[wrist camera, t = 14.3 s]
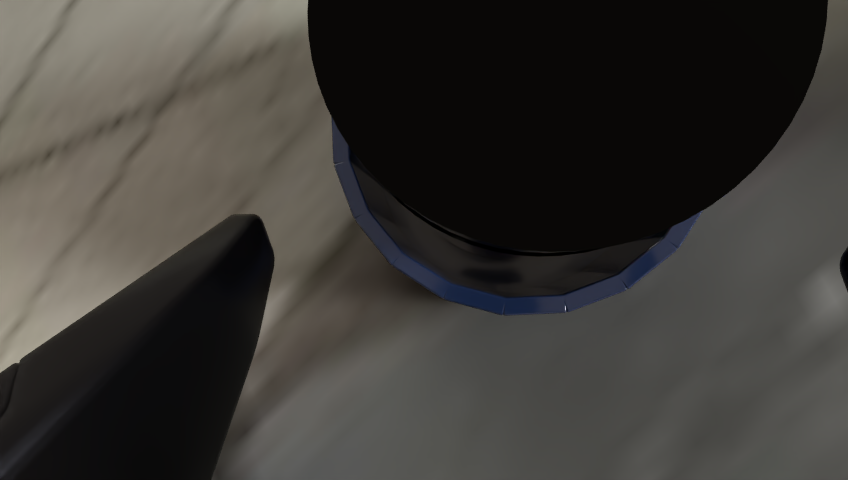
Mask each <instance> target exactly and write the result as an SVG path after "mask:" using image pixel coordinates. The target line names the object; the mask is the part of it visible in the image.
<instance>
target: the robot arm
mask: <svg viewBox="0 0 848 480" xmlns="http://www.w3.org/2000/svg"><path fill="white" fill-rule="evenodd" d="M273 268H274V252H273V249H272V246H271V243H270V241H269V238H268V235H267V232H266V229H265V227H264V224H263V222H262V219H261V218H260V217H259V216H257V215H255V214H235V215H231V216H230V217H228V218H227V219H225V220H224V221H222V222H221V223H219V224H218V225H216V226H215V227H213V228H212V229H210V230H209V231H208V232H206V233H205V234H203V235H202V236H200V237H199V238H197V239H196V240H194V241H193V242H191V243H190V244H188V245H187V246H186V247H184V248H183V249H181V250H180V251H178V252H177V253H175V254H174V255H172V256H171V257H169V258H168V259H167V260H165V261H164V262H162V263H161V264H159V265H158V266H156V267H155V268H153V269H152V270H150V271H149V272H147V273H146V274H145V275H143V276H142V277H140V278H139V279H137V280H136V281H134V282H133V283H131V284H130V285H128V286H127V287H126V288H124V289H123V290H121V291H120V292H118V293H117V294H115V295H114V296H112V297H111V298H109V299H108V300H106V301H105V302H104V303H102V304H101V305H99V306H98V307H96V308H95V309H93V310H92V311H90V312H89V313H87V314H86V315H85V316H83V317H82V318H80V319H79V320H77V321H76V322H74V323H73V324H71V325H70V326H68V327H67V328H65V329H64V330H63V331H61V332H60V333H58V334H57V335H55V336H54V337H52V338H51V339H49V340H48V341H46V342H45V343H43V344H42V345H41V346H39V347H38V348H36V349H35V350H33V351H32V352H30V353H29V354H27V355H26V356H24V357H23V358H22V359H21V360H20V363H14V364H12V365H11V366H10V367H8V368H7V369H5V370H4V371H2V372H1V373H0V480H211V479H212V476H213V473H214V470H215V467H216V464H217V461H218V458H219V456H220V453H221V450H222V447H223V444H224V441H225V438H226V435H227V432H228V429H229V426H230V423H231V420H232V418H233V415H234V412H235V409H236V406H237V403H238V400H239V397H240V394H241V391H242V388H243V385H244V382H245V380H246V377H247V374H248V371H249V368H250V365H251V362H252V359H253V356H254V352H255V349H256V346H257V342H258V338H259V334H260V329H261V324H262V320H263V315H264V310H265V306H266V301H267V296H268V292H269V287H270V282H271V278H272V273H273ZM840 272H841V275H842V278H843V281H844V283H845V286H846V289H847V291H848V247H847V249H846V250H845V252H844V253H843V255H842V257H841V260H840Z"/></svg>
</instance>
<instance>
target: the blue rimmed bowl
mask: <svg viewBox="0 0 848 480" xmlns="http://www.w3.org/2000/svg"><path fill="white" fill-rule="evenodd" d="M331 118H332V116H331ZM332 140H333V161H334V164H335V165H334V167H335V170H336V172H337V175H338V178H339V180H340V183H341V186H342V188H343V191H344V193H345V196H346V199H347V201H348V204H349V207H350V209H351V212H352V215H353V217H354V219H355V221H356V222H357V224H358V225H359V226H360V227H361V229H362V230H363V231H364V232H365V233H366V235H367V236H368V237H369V238H370V240H371V241H372V242H373V243H374V245H375V246H376V247H377V248H378V250H379V251H380V252H381V253H382V255H383V256H384V257H385V258H386V260H387V261H388V262H389V263H390V264H391V265H393V267H394V268H395V269H397V270H398V271H400V272H402V273H403V274H405V275H406V276H408V277H409V278H411V279H412V280H414V281H415V282H417V283H418V284H420V285H421V286H423V287H425V288H426V289H428V290H429V291H431V292H432V293H434V294H435V295H437V296H438V297H440V298H443V299H444V300H447V301H451V302H454V303H458V304H462V305H465V306H469V307H473V308H476V309H480V310H484V311H487V312H491V313H495V314H499V315H505V316H508V315H529V314H551V313H565V312H570V311H573V310H575V309H578V308H581V307H583V306H586V305H589V304H591V303H594V302H597V301H599V300H602V299H605V298H607V297H610V296H613V295H615V294H618V293H621V292H623V291H625V290H626V289H629V288H630V287H632V286H633V285H634V284H635V283H637V282H638V281H639V280H640V279H642V278H643V277H644V276H645V275H647V274H648V273H649V272H650V271H652V270H653V269H654V268H655V267H657V266H658V265H659V264H660V263H662V262H663V261H664V260H665V259H667V258H668V257H669V256H670V255H672V254H673V253H674V252H675V251H676V250H677V249H678V248H679V247H680V245H681V244H682V242H683V241H684V239H685V238H686V236H687V235H688V233H689V231H690V230H691V228H692V227H693V225H694V224H695V222H696V221H697V219H698V217H699V216H700V214H701V213H702V211H703V210H702V211H701V212H699V213H697V214H696V215H694V216H692V217H691V218H689V219H687V220H685V221H683V222H681V223H679V224H677V225H674V226H672V227H670V228H668V229H666V230H664V231H661V232H659V233H656V234H653V235H650V236H647V237H644V238H641V239H639V240H636V241H632V242H628V243H624V244H619V245H615V246H611V247H606V248H602V249H598V250H593V251H589V252H585V253H579V254H571V255H564V256H548V257H531V258H524V259H516V260H501V259H492V258H486V257H482V256H478V255H475V254H472V253H470V252H467V251H465V250H463V249H461V248H459V247H457V246H455V245H454V244H452V243H451V242H449V241H448V240H446V239H445V238H444V237H442V236H441V235H440V234H439V233H438V232H437V231H435V230H434V229H433V228H432V227H431V226H430V225H428V224H427V223H425V222H424V221H422V220H421V219H419V218H418V217H416V216H415V215H414V214H413V213H411V212H410V211H409V210H408V209H406V208H405V207H404V206H403V205H402V204H400V203H399V202H398V201H397V200H396V199H395V198H394V197H393V196H392V195H391V194H390V193H389V192H388V191H387V190H386V189H385V188H384V187H383V185H382V184H381V183H380V182H379V181H378V180H377V179H376V178H375V177H374V176H373V175H372V174H371V173H370V172H369V171H368V170H367V169H366V168H365V166H364V165H363V164H362V163H361V161H360V160H359V159H358V158H357V156H356V155H355V154H354V153H353V151H352V150H351V149H350V147H349V146H348V144H347V142H346V141H345V139H344V138H343V136H342V135H341V133H340V132H339V130H338V128H337V126H336V124H335V122H334V120H333V118H332Z"/></svg>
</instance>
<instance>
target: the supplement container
mask: <svg viewBox="0 0 848 480" xmlns="http://www.w3.org/2000/svg"><path fill="white" fill-rule="evenodd" d="M827 5H828V0H308V34H309V42H310V49H311V56H312V62H313V66H314V69H315V73H316V77H317V81H318V85H319V87H320V90H321V93H322V95H323V98H324V101H325V103H326V106H327V108H328V110H329V112H330V114H331V116H332V118H333V120H334V122H335V124H336V126H337V128H338V130H339V132H340V133H341V135H342V136H343V138H344V139H345V141H346V142H347V144H348V146H349V147H350V149H351V150H352V151H353V153H354V154H355V155H356V156H357V158H358V159H359V160H360V161H361V163H362V164H363V165H364V166H365V168H366V169H367V170H368V171H369V172H370V173H371V174H372V175H373V176H374V177H375V178H376V179H377V180H378V181H379V182H380V183H381V184H382V185H383V187H384V188H385V189H386V190H387V191H388V192H389V193H390V194H391V195H392V196H393V197H394V198H395V199H396V200H397V201H398V202H399V203H400V204H402V205H403V206H404V207H405V208H406V209H408V210H409V211H410V212H411V213H413V214H414V215H415V216H416V217H418V218H419V219H421V220H422V221H424V222H425V223H427V224H428V225H430V226H431V227H432V228H433V229H434V230H435V231H437V232H438V233H439V234H440V235H441V236H442V237H444V238H445V239H446V240H448V241H449V242H451V243H452V244H454V245H455V246H457V247H459V248H461V249H463V250H465V251H467V252H470V253H472V254H475V255H478V256H482V257H486V258H492V259H501V260H516V259H524V258H531V257H548V256H564V255H571V254H579V253H585V252H589V251H593V250H598V249H602V248H606V247H611V246H615V245H619V244H624V243H628V242H632V241H636V240H639V239H641V238H644V237H647V236H650V235H653V234H656V233H659V232H661V231H664V230H666V229H668V228H670V227H672V226H674V225H677V224H679V223H681V222H683V221H685V220H687V219H689V218H691V217H692V216H694V215H696V214H697V213H699V212H701V211H702V210H704V209H706V208H707V207H709V206H711V205H712V204H713V203H715V202H716V201H717V200H719V199H720V198H722V197H723V196H724V195H726V194H727V193H728V192H730V191H731V190H732V189H734V188H735V187H736V186H737V185H738V184H739V183H740V182H741V181H742V180H743V179H745V178H746V177H747V176H748V175H749V174H750V173H751V172H752V171H753V170H754V169H755V168H756V167H757V166H758V165H759V164H760V163H761V161H762V160H763V159H764V158H765V157H766V156H767V155H768V154H769V152H770V151H771V150H772V149H773V148H774V146H775V145H776V144H777V142H778V141H779V139H780V138H781V136H782V135H783V134H784V132H785V131H786V129H787V128H788V127H789V125H790V123H791V122H792V120H793V118H794V116H795V114H796V113H797V111H798V109H799V107H800V105H801V104H802V102H803V100H804V97H805V95H806V93H807V90H808V88H809V86H810V83H811V81H812V79H813V76H814V73H815V70H816V66H817V63H818V60H819V56H820V53H821V50H822V44H823V39H824V33H825V27H826V21H827Z"/></svg>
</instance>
